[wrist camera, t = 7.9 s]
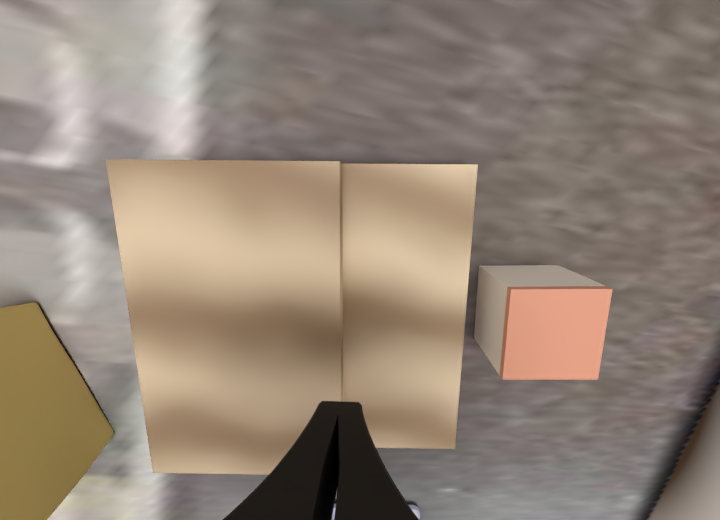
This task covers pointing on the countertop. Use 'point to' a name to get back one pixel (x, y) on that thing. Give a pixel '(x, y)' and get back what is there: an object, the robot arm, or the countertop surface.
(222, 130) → the countertop surface
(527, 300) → the white cube
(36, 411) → the cheese
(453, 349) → the step
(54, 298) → the countertop surface
